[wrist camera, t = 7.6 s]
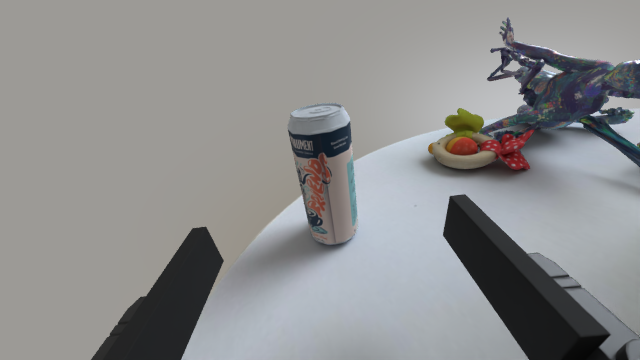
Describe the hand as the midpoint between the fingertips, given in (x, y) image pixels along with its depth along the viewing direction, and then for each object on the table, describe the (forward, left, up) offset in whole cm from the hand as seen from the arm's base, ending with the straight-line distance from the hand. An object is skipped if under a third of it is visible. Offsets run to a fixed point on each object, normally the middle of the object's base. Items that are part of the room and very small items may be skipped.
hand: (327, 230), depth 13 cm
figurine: (-28, -4, 0) cm, 28 cm away
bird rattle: (-21, -9, -7) cm, 24 cm away
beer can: (-3, -7, -7) cm, 11 cm away
